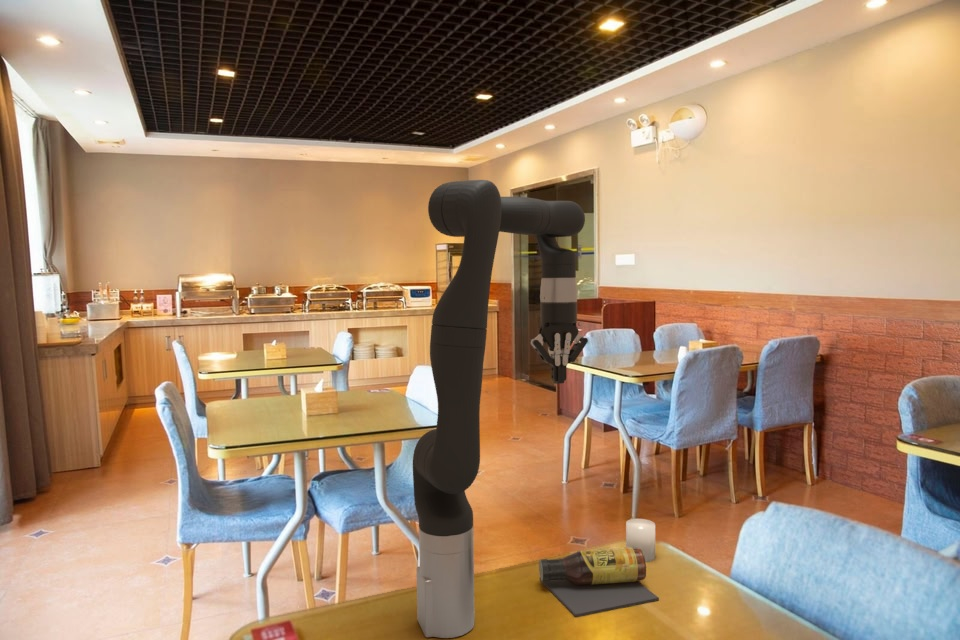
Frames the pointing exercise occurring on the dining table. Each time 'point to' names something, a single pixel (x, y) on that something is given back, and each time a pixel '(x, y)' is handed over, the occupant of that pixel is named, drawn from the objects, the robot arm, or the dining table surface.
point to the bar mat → (599, 596)
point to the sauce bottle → (596, 567)
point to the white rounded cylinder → (641, 537)
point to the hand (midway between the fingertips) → (558, 383)
